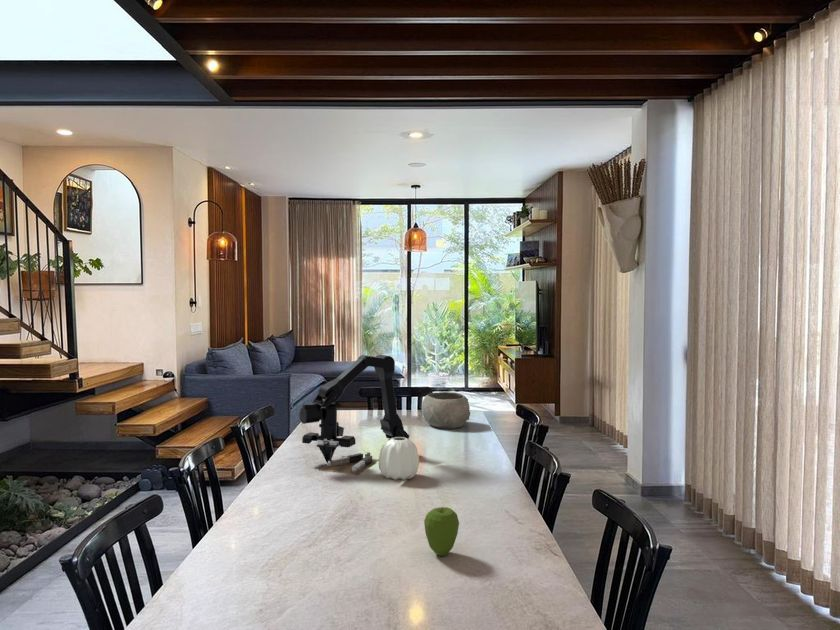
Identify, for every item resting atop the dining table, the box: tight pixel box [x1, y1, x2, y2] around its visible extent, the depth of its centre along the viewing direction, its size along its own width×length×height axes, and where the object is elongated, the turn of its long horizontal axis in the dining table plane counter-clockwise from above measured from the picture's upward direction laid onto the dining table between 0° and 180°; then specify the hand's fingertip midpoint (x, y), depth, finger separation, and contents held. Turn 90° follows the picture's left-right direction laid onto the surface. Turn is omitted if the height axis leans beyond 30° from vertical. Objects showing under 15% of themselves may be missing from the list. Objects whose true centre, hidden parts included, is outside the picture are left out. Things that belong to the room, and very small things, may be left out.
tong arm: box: [327, 452, 364, 467], centre depth 218 cm, size 2×14×2 cm, turn 132°
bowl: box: [421, 391, 471, 430], centre depth 286 cm, size 23×23×15 cm
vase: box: [378, 437, 420, 481], centre depth 205 cm, size 14×14×13 cm
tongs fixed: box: [352, 451, 373, 473], centre depth 216 cm, size 4×18×3 cm, turn 163°
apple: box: [423, 506, 460, 557], centre depth 144 cm, size 9×8×12 cm
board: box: [318, 455, 379, 476], centre depth 216 cm, size 15×20×1 cm
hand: (328, 463), depth 215 cm, fingers closed
